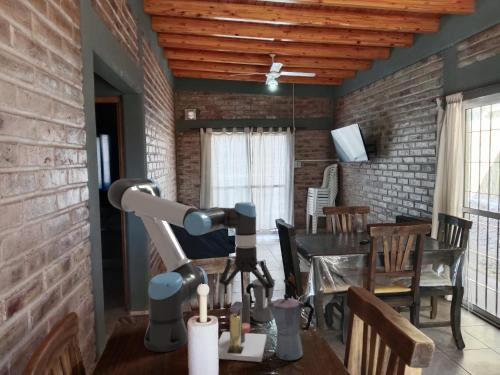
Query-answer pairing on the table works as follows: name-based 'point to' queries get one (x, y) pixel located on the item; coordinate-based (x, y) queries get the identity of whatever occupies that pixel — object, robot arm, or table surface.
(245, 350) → the base
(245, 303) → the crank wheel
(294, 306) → the moka pot
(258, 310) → the coffeepot
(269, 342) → the table surface
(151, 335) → the robot arm
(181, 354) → the table surface
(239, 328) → the hook peg
